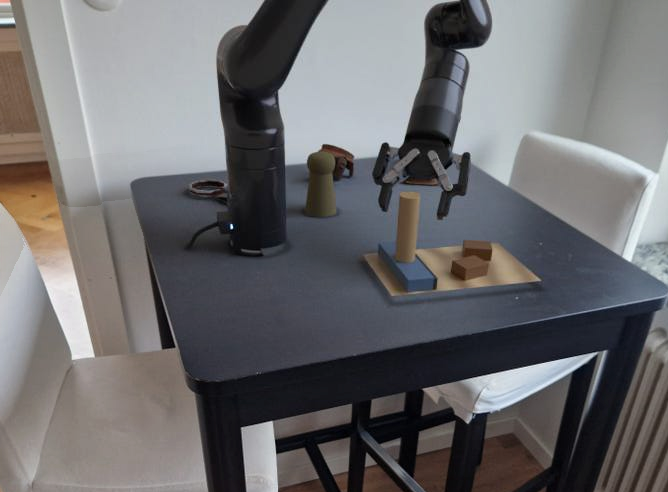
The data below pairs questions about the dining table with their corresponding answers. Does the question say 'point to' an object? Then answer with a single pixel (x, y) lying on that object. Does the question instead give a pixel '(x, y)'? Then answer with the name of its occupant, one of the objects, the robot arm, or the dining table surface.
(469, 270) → the block
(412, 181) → the sunglasses case
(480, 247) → the block
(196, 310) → the dining table surface
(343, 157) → the brown piece
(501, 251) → the cutting board
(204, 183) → the keychain
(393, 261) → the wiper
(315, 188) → the olive game pawn
